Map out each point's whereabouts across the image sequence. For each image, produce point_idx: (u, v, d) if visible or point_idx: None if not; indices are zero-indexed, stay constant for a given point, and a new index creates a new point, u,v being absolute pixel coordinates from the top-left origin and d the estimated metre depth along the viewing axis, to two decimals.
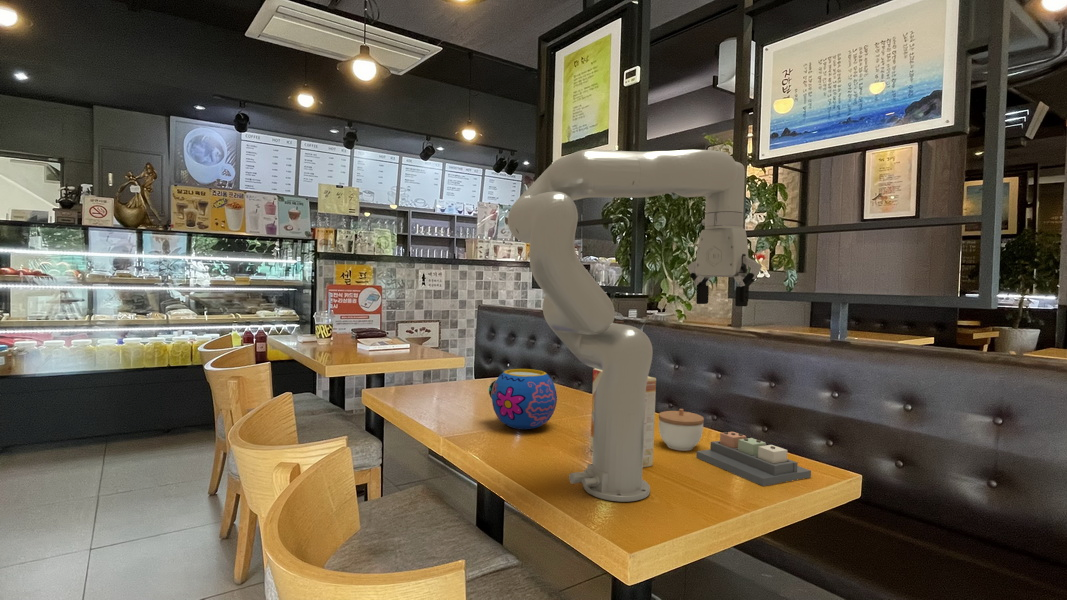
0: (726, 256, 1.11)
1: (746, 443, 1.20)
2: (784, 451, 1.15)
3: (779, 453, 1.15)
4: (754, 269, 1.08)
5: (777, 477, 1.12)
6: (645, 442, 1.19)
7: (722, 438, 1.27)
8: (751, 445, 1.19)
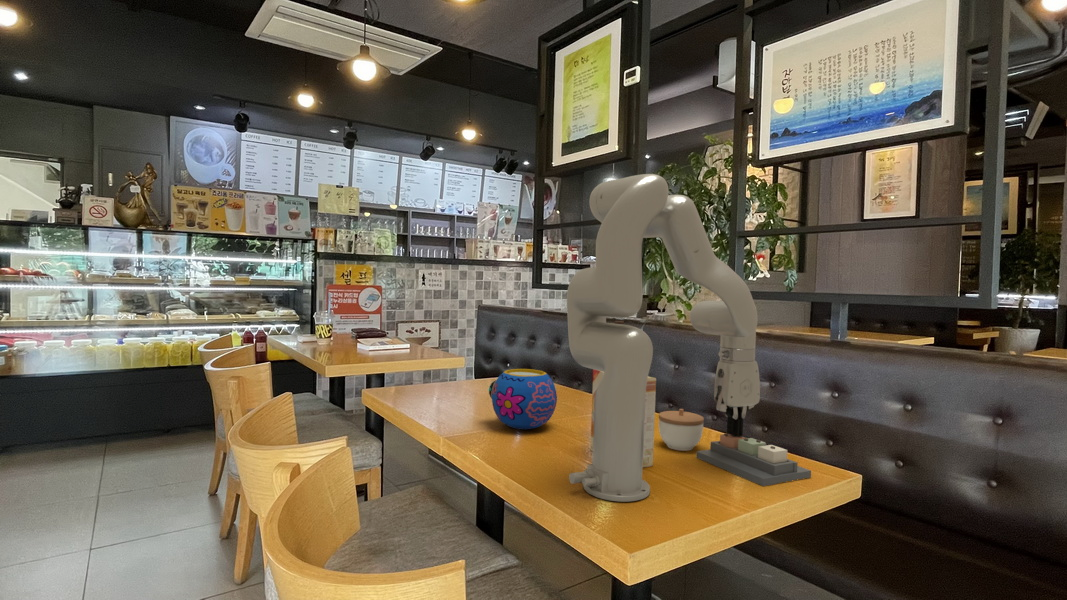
0: (755, 387, 1.25)
1: (746, 443, 1.20)
2: (784, 451, 1.15)
3: (779, 453, 1.15)
4: (751, 406, 1.28)
5: (777, 477, 1.12)
6: (645, 442, 1.19)
7: (722, 440, 1.27)
8: (751, 445, 1.19)
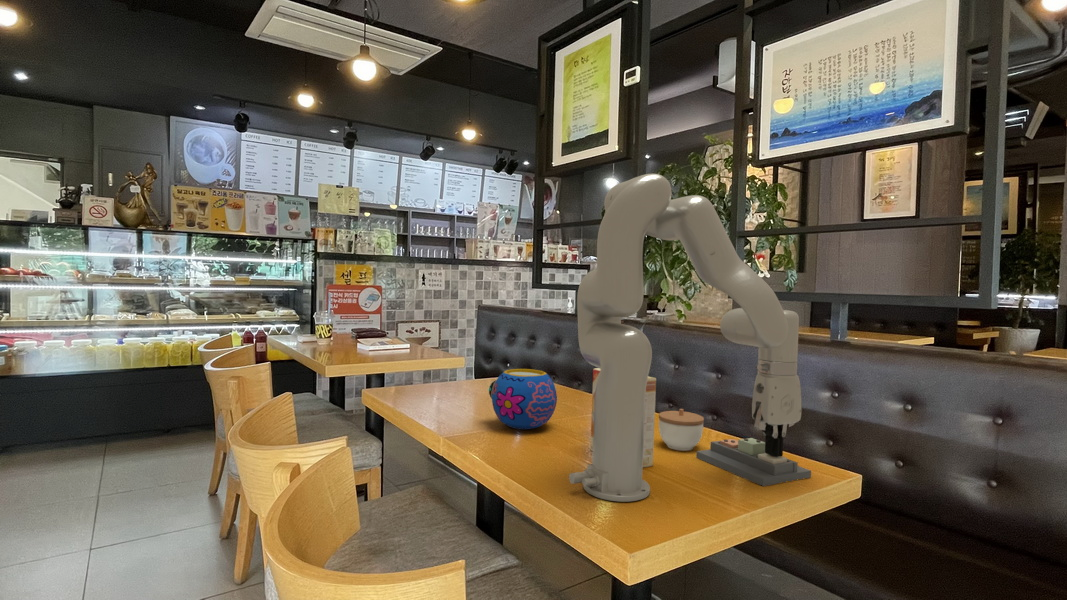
0: (796, 403, 1.15)
1: (746, 443, 1.20)
2: (784, 459, 1.15)
3: (779, 460, 1.15)
4: (791, 423, 1.18)
5: (777, 477, 1.12)
6: (645, 442, 1.19)
7: None
8: (751, 445, 1.19)
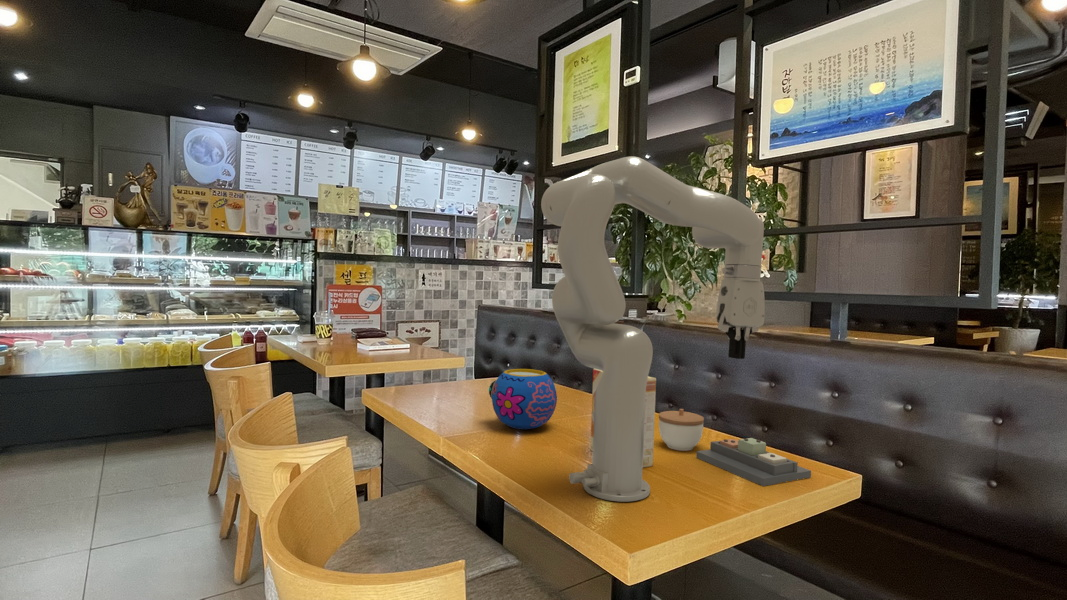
0: (759, 308, 1.19)
1: (746, 443, 1.20)
2: (784, 459, 1.15)
3: (779, 461, 1.15)
4: (754, 330, 1.22)
5: (777, 477, 1.12)
6: (645, 442, 1.19)
7: None
8: (751, 445, 1.19)
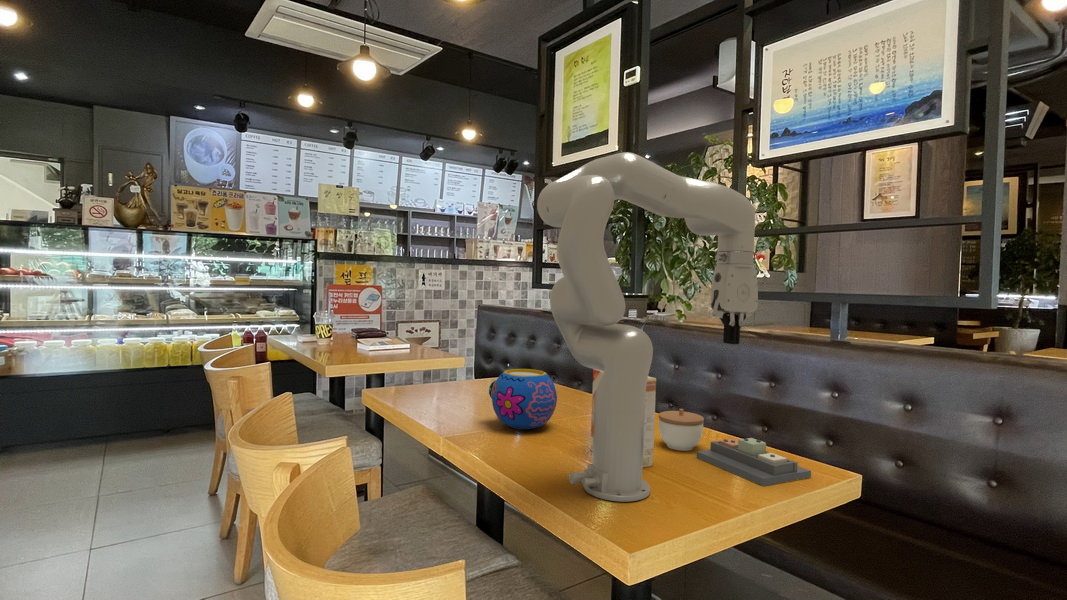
0: (753, 293, 1.21)
1: (746, 443, 1.20)
2: (784, 459, 1.15)
3: (779, 461, 1.15)
4: (748, 315, 1.23)
5: (777, 477, 1.12)
6: (645, 442, 1.19)
7: None
8: (751, 445, 1.19)
